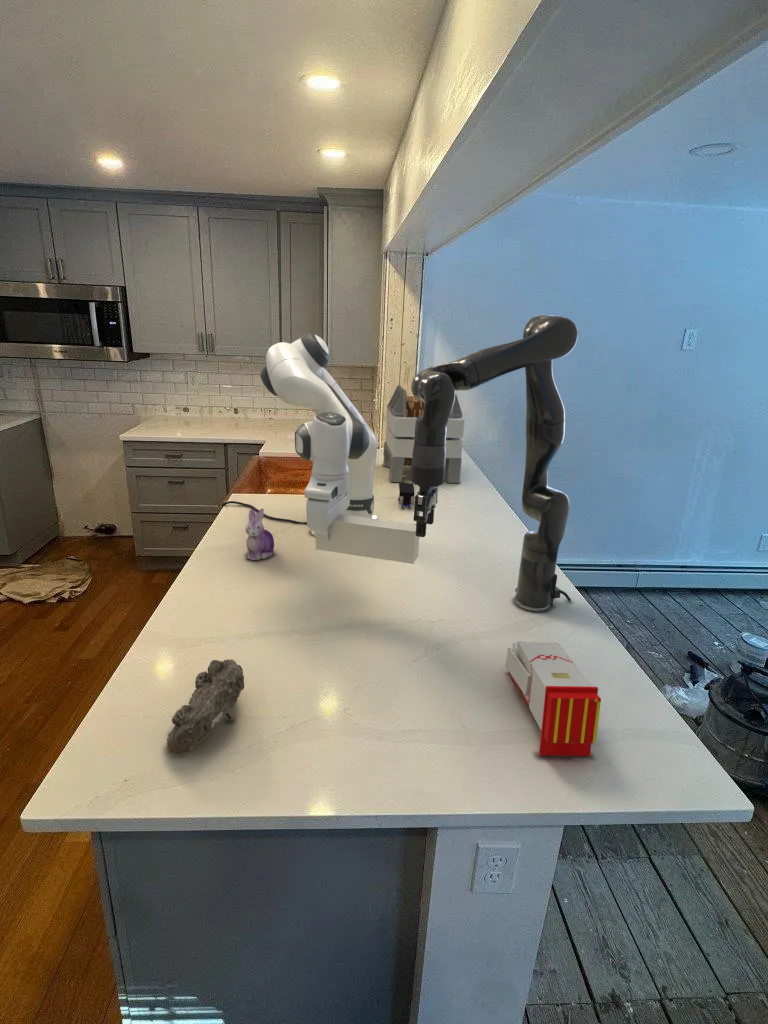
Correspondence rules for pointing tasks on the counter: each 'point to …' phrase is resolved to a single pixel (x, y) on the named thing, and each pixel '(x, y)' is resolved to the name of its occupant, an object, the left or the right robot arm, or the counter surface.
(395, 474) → the transformer
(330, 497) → the left robot arm
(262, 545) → the figurine
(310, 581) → the counter surface
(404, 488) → the figurine character
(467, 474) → the counter surface
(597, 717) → the toy
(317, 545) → the bar
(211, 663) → the fossil
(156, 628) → the counter surface
